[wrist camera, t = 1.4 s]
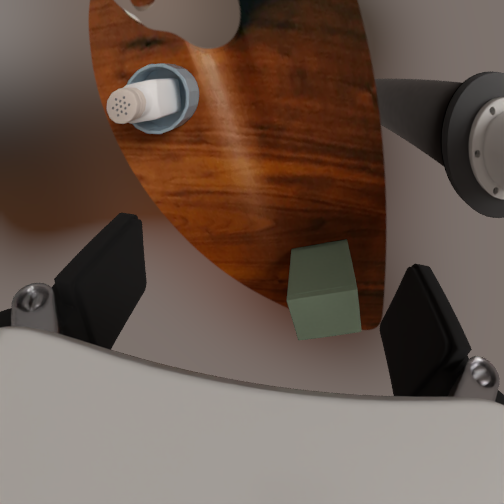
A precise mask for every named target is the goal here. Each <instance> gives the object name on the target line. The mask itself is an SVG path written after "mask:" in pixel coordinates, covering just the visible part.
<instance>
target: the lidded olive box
mask: <svg viewBox="0 0 504 504" xmlns="http://www.w3.org/2000/svg"><path fill="white" fill-rule="evenodd" d="M287 303H288V307H289V310H290V313H291V316H292V320H293V323H294V327H295V330H296V334H297V337H298V340H306V339H313V338H321V337H328V336H336V335H342V334H349V333H355V332H361V322H360V311H359V301H358V292H357V286H356V280H355V275H354V270H353V266H352V261H351V256H350V251H349V247H348V242H347V239H345V240H340V241H334V242H328V243H323V244H317V245H312V246H306V247H300V248H295V249H291V260H290V271H289V282H288V292H287Z"/></svg>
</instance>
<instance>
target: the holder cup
mask: <svg viewBox="0 0 504 504" xmlns="http://www.w3.org/2000/svg"><path fill="white" fill-rule="evenodd" d="M168 78H174V79H177V80H178V82H179V88H180V98H181V110H180V111H179V112H177V113H174V114H171V115H168V116H165V117H162V118H159V119H156V120H150V121H144V122H138V123H132V124H133V125H134V126H135V127H136V128H137V129H139V130H141V131H143V132H145V133H148V134H162V133H164V132H167V131H170V130H172V129H174V128H177V127H179V126H181V125H183V124H184V123H185V122H187V121H188V120H189V119H190V118H191V117H192V115H193V114H194V112H195V110H196V108H197V105H198V101H199V89H198V85H197V83H196V80H195V79H194V77H193V76H192V74H191V73H190V72H189V71H187V70H186V69H184V68H182V67H180V66H177V65H175V64H149V65H147V66H145V67H143V68H141V69H139V70H138V71H137V72H136V73H135V74H134V75H133V76H132V77H131V78H130V79H129V81H128V83H127V85H129V84H133V83H137V82H142V81H146V80H152V79H168Z"/></svg>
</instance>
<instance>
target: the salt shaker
mask: <svg viewBox="0 0 504 504" xmlns="http://www.w3.org/2000/svg"><path fill="white" fill-rule="evenodd" d="M180 110H181V98H180V88H179V82H178V80H177V79H174V78H168V79H152V80H146V81H142V82H137V83H133V84H129V85H126V86H125V87H124V88H121V89H118V90H116V91H115V92H113V93H112V94H111V95H110V97H109V99H108V100H107V112H108V115H109V118H110V119H112V120H113V121H114V122H115V123H120V124H125V123H131V124H132V123H138V122H144V121H150V120H156V119H159V118H162V117H165V116H168V115H171V114H174V113H177V112H179V111H180Z"/></svg>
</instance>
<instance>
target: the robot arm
mask: <svg viewBox="0 0 504 504" xmlns="http://www.w3.org/2000/svg"><path fill="white" fill-rule="evenodd" d="M469 159H470V165H471V168H472V171H473V174H474V176H475V178H476V180H477V181H478V183H479V184H480V185H481V187H482V188H483V189H484V190H486V191H487V192H488V193H489V194H490V195H492V196H493V197H496V198H498V199H503V200H504V97H498V98H494V99H492V100H490V101H489V102H487V103H486V104H485V105H484V106H483V107H482V108H481V109H480V110H479V112H478V113H477V115H476V117H475V119H474V121H473V124H472V127H471V131H470V135H469ZM142 233H143V232H142V222H141V220H139V219H138V217H137V216H136V215H134V214H126V213H120V214H118V215H117V216H116V217H115V218H114V219H113V220H112V221H111V222H110V223H109V224H108V225H107V226H106V227H105V228H104V229H102V230H101V231H100V233H98V234H97V235H96V237H94V238H93V239H92V240H91V241H90V242H89V243H88V244H87V245H86V246H85V247H84V248H83V249H82V250H81V251H80V252H79V253H78V254H77V255H76V256H75V258H73V259H72V261H71V262H70V263H69V264H68V265H67V266H66V267H65V268H64V269H63V270H62V271H61V272H60V273H59V274H58V275H57V277H56V278H55V279H54V280H55V284H54V285H53V287H52V288H51V287H50V286H49V285H47V284H44V283H33V284H30V285H27V286H25V287H23V288H22V289H20V290H19V291H18V292H17V293H16V295H15V296H14V298H13V301H12V308H11V309H7V310H4V311H1V312H0V504H504V395H503V394H502V393H501V392H500V391H498V387H499V375H498V372H497V370H496V369H495V367H494V366H493V365H492V364H491V363H490V362H489V361H488V360H486V359H485V358H483V357H479V356H474V357H472V358H470V359H469V358H468V356H467V355H468V353H469V352H470V351H471V347H470V345H469V343H468V340H467V338H466V336H465V334H464V331H463V329H462V327H461V325H460V323H459V321H458V319H457V317H456V315H455V313H454V311H453V309H452V307H451V305H450V303H449V302H448V299H447V297H446V295H445V294H444V292H443V290H442V288H441V286H440V284H439V283H438V281H437V279H436V277H435V275H434V274H433V272H432V270H431V268H430V267H429V266H424V265H419V264H414V265H413V266H412V267H409V268H408V269H407V271H406V273H405V275H404V277H403V279H402V281H401V283H400V286H399V288H398V290H397V292H396V294H395V296H394V298H393V300H392V302H391V304H390V306H389V308H388V310H387V312H386V314H385V316H384V318H383V320H382V322H381V324H380V334H381V338H382V342H383V346H384V351H385V355H386V360H387V364H388V369H389V373H390V379H391V384H392V389H393V394H394V396H372V395H354V394H340V393H328V392H318V391H308V390H298V389H291V388H283V387H276V386H269V385H263V384H256V383H250V382H244V381H238V380H233V379H227V378H222V377H217V376H212V375H207V374H202V373H198V372H193V371H189V370H184V369H180V368H176V367H172V366H167V365H164V364H160V363H156V362H152V361H148V360H145V359H141V358H138V357H134V356H131V355H127V354H124V353H120V352H117V351H113V350H111V348H112V346H113V344H114V343H115V341H116V339H117V337H118V335H119V334H120V332H121V330H122V329H123V327H124V325H125V323H126V322H127V320H128V318H129V316H130V315H131V313H132V311H133V310H134V308H135V306H136V304H137V303H138V301H139V300H140V298H141V296H142V295H143V293H144V291H145V288H146V272H145V261H144V247H143V234H142Z"/></svg>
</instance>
